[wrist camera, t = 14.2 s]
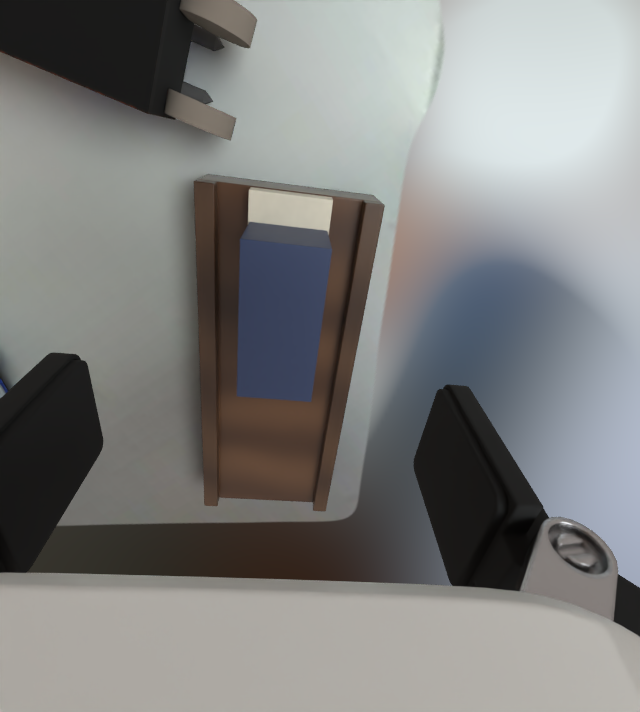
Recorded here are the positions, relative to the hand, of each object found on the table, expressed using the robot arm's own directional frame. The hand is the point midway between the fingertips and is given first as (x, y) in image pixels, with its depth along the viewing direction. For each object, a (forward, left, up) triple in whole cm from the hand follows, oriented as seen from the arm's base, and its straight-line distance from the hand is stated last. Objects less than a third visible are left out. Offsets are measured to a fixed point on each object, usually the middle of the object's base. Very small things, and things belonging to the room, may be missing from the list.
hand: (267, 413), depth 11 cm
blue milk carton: (+3, 0, -18) cm, 18 cm away
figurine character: (-9, -12, -21) cm, 25 cm away
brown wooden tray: (+10, +2, -21) cm, 23 cm away
